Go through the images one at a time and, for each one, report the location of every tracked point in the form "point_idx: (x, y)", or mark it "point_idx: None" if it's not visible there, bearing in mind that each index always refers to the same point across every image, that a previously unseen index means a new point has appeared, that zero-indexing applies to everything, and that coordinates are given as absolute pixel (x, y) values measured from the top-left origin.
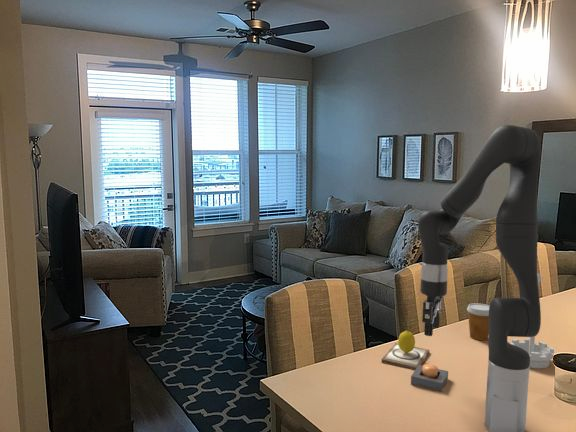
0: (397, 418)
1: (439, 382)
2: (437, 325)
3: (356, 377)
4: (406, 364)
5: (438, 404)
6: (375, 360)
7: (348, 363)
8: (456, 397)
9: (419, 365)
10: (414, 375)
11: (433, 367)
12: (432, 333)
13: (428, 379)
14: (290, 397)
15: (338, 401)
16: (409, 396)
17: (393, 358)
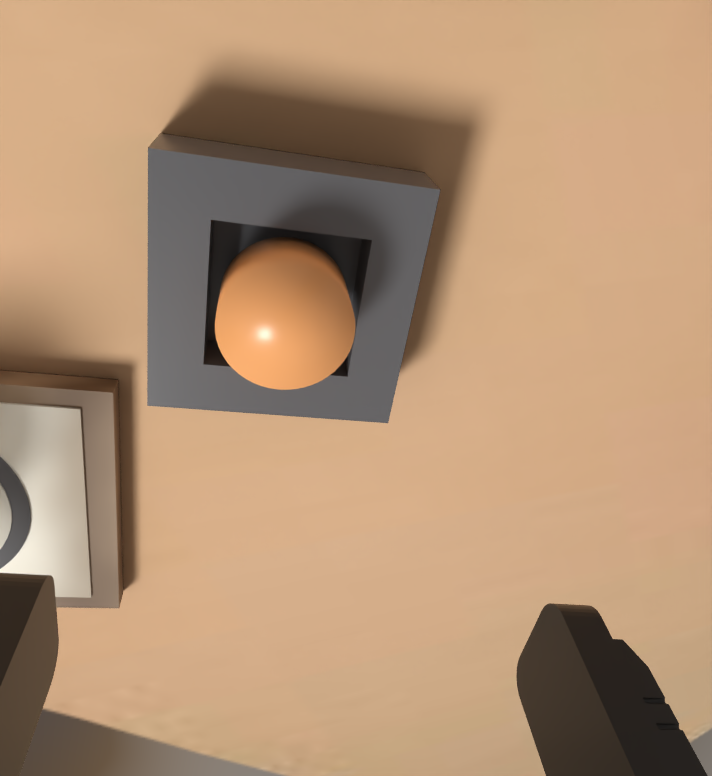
0: None
1: (433, 213)
2: (37, 625)
3: (398, 637)
4: (111, 470)
5: (634, 183)
6: (117, 621)
7: (242, 704)
8: (496, 43)
9: (159, 398)
10: (369, 404)
11: (277, 302)
12: (574, 628)
13: (405, 303)
14: None
15: (665, 629)
16: (555, 371)
17: (61, 557)
